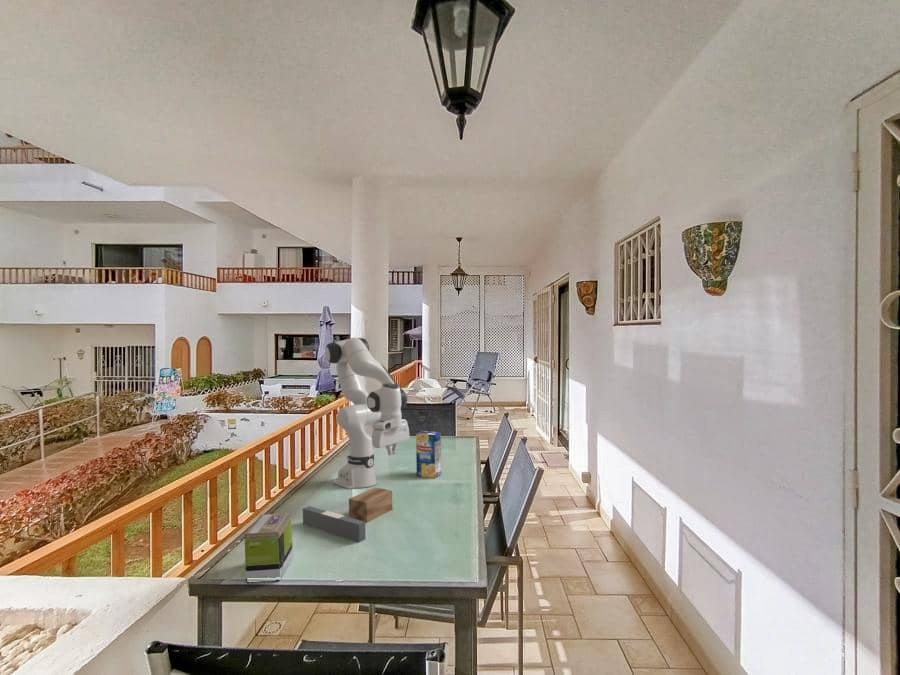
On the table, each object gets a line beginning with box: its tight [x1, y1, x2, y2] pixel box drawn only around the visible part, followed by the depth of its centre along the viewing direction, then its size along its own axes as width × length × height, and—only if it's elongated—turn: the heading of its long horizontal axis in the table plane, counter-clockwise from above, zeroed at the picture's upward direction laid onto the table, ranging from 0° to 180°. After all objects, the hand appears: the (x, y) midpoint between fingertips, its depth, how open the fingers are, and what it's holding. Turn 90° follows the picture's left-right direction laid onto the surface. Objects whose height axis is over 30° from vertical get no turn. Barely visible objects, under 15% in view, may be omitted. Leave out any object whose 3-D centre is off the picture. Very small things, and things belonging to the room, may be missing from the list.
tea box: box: [244, 512, 294, 579], centre depth 140 cm, size 15×10×15 cm, turn 5°
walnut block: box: [348, 487, 393, 524], centre depth 185 cm, size 9×16×8 cm, turn 150°
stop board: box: [302, 505, 367, 543], centre depth 168 cm, size 30×3×6 cm, turn 56°
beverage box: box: [415, 430, 442, 479], centre depth 237 cm, size 7×11×22 cm, turn 63°
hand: (391, 454), depth 196 cm, fingers closed
